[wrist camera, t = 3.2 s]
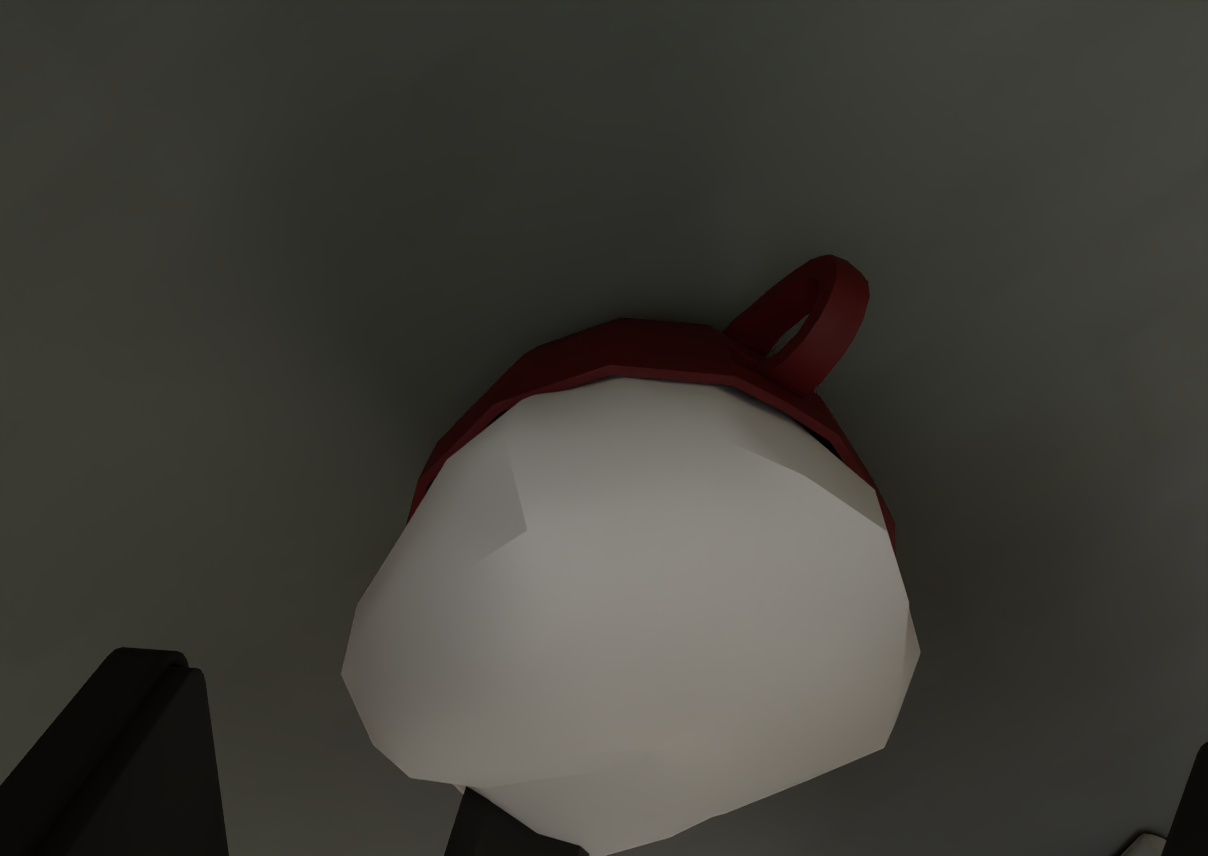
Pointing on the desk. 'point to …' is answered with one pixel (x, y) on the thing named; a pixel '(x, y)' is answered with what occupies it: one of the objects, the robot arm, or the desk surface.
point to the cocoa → (641, 585)
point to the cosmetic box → (1146, 846)
